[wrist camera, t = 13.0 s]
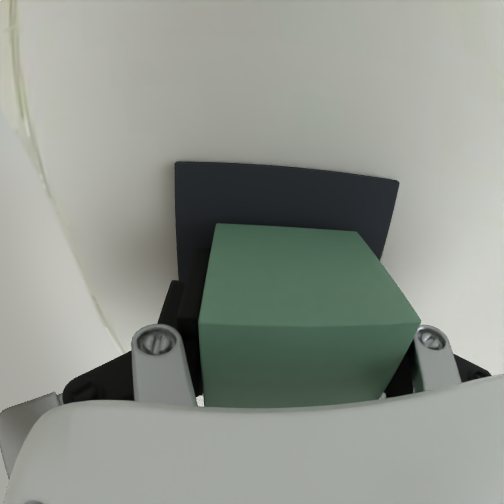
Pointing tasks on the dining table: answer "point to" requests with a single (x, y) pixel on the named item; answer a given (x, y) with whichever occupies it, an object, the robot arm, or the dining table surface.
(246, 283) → the top block
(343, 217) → the mat
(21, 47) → the dining table surface
